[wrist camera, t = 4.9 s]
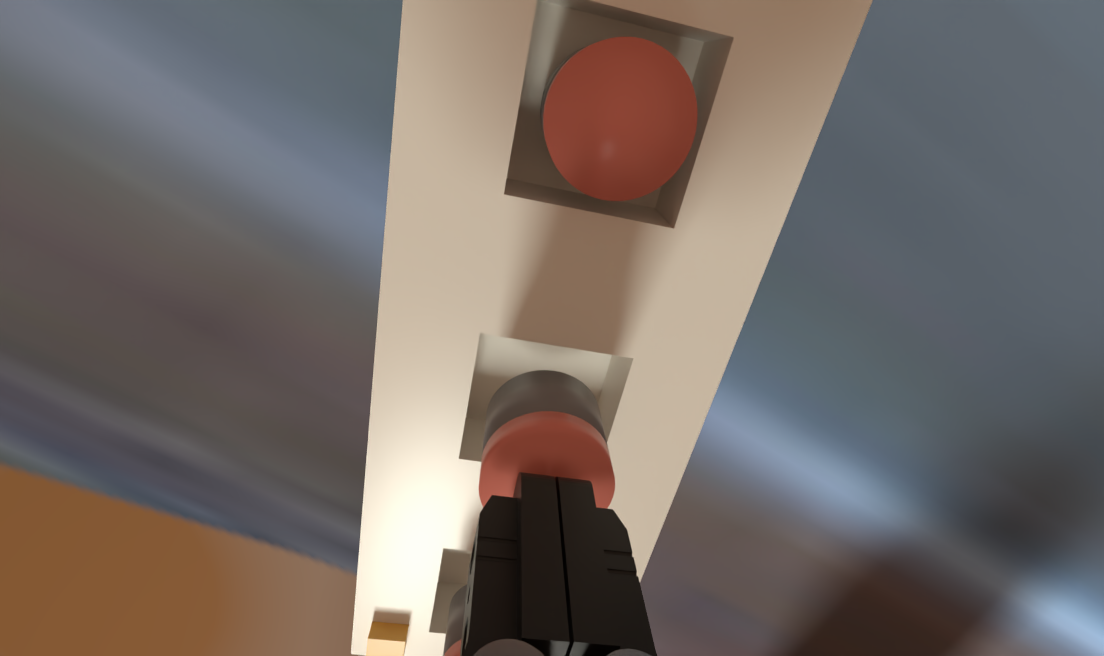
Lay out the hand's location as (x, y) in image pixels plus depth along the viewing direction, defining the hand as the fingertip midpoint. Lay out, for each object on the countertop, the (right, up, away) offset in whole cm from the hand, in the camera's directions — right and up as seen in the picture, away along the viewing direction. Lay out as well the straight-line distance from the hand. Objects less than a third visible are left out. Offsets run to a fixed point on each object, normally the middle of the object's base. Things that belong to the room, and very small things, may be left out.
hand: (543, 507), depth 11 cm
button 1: (+1, +9, +2) cm, 9 cm away
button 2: (0, +1, +3) cm, 3 cm away
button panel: (0, +5, +6) cm, 8 cm away
